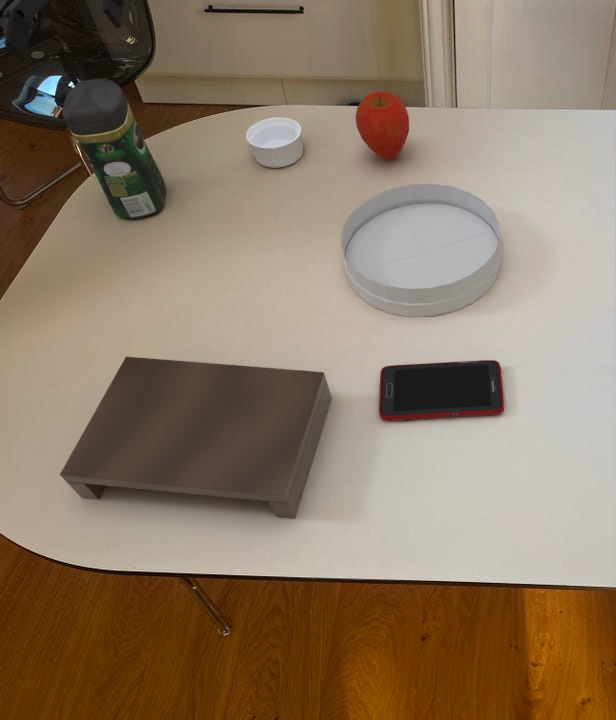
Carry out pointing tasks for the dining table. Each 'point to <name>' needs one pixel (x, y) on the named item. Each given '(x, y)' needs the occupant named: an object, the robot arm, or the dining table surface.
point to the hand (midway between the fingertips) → (63, 35)
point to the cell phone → (440, 390)
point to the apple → (383, 123)
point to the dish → (422, 249)
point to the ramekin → (275, 142)
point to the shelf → (203, 432)
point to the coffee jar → (114, 148)
